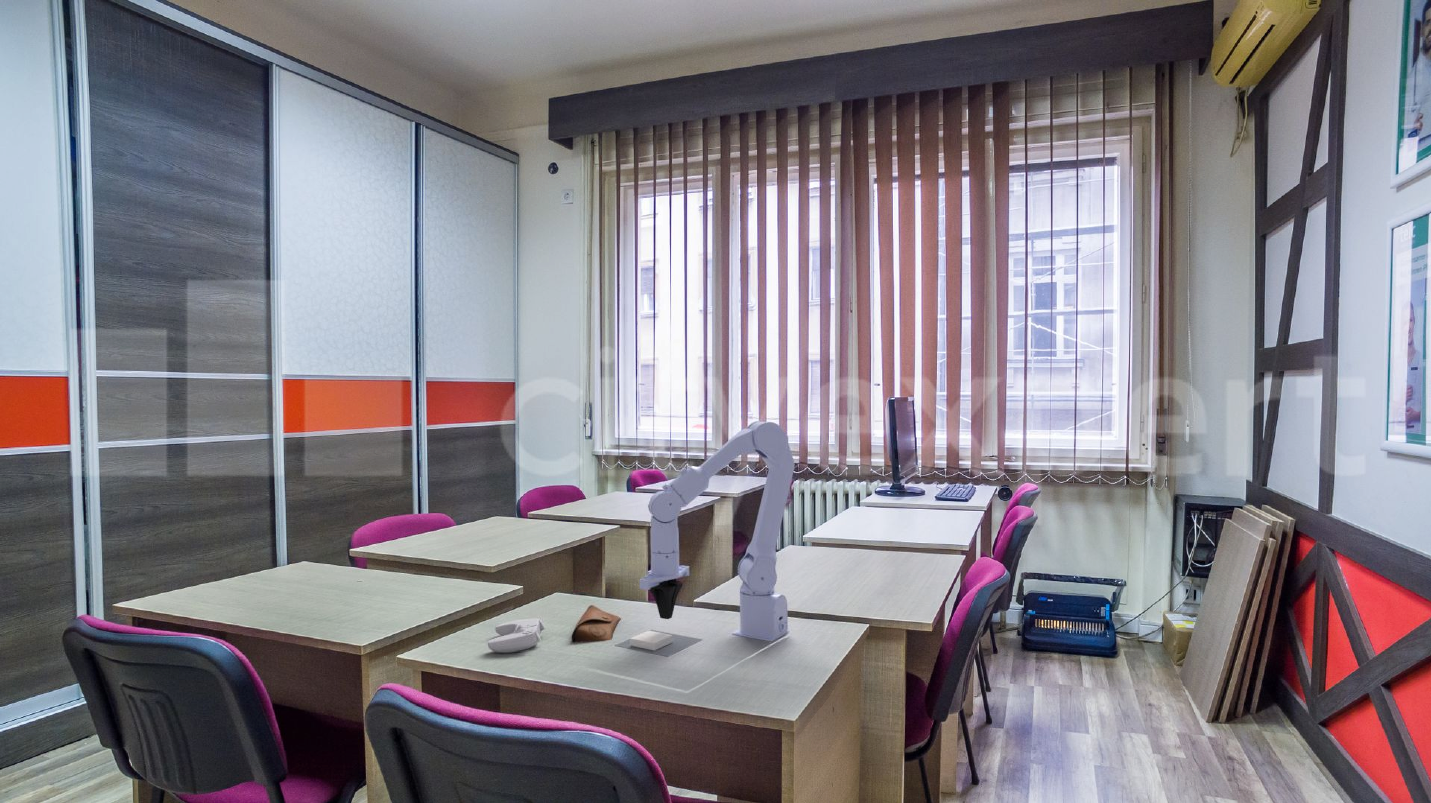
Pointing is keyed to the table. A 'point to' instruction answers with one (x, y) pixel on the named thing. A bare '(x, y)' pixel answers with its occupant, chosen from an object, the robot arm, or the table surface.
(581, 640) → the sunglasses case
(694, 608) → the table surface
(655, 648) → the tile
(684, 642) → the mat
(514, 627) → the game controller
